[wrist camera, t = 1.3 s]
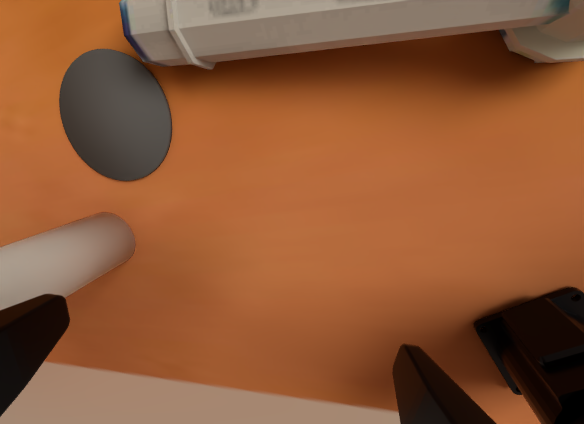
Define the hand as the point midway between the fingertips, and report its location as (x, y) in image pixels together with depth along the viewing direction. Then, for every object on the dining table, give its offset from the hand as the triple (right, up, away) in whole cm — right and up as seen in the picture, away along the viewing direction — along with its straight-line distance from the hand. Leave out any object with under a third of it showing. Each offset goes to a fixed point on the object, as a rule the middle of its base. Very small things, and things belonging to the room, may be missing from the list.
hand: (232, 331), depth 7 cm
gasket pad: (-11, +10, +13) cm, 20 cm away
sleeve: (-14, +1, +16) cm, 21 cm away
